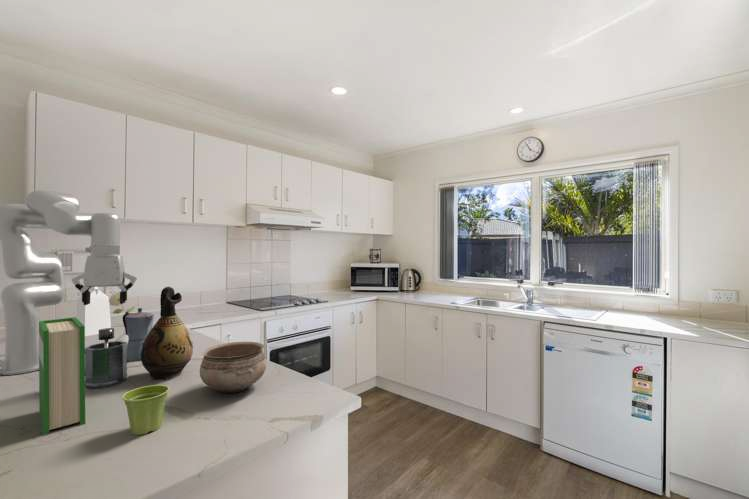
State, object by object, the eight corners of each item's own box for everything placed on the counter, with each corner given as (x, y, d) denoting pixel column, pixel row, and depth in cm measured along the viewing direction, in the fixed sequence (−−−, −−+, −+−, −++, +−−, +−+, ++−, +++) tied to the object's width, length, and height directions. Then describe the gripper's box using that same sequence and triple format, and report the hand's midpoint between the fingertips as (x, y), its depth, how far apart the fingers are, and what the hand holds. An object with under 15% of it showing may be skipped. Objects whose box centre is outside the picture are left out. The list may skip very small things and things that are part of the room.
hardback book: (85, 423, 86) (84, 325, 86) (43, 435, 81) (43, 331, 81) (75, 402, 98) (75, 317, 98) (39, 411, 93) (38, 321, 93)
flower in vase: (141, 340, 168) (140, 288, 168) (146, 344, 160) (146, 290, 160) (107, 345, 159) (106, 290, 159) (111, 350, 151) (111, 292, 151)
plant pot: (137, 420, 87) (137, 385, 88) (176, 418, 88) (176, 383, 88) (112, 440, 78) (112, 401, 78) (156, 437, 79) (156, 399, 79)
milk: (111, 331, 188) (110, 283, 188) (84, 336, 178) (84, 285, 178) (101, 329, 194) (101, 282, 194) (75, 333, 185) (75, 284, 185)
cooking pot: (281, 393, 103) (280, 351, 103) (213, 412, 91) (212, 365, 91) (250, 371, 122) (249, 336, 122) (190, 385, 110) (190, 346, 110)
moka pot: (143, 362, 133) (143, 310, 134) (110, 360, 136) (109, 309, 137) (163, 355, 143) (163, 306, 143) (131, 353, 146) (131, 305, 146)
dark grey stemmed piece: (88, 378, 109) (88, 332, 109) (97, 371, 116) (97, 328, 116) (116, 375, 112) (115, 330, 112) (123, 368, 118) (123, 326, 118)
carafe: (68, 392, 106) (67, 352, 106) (83, 379, 116) (83, 343, 116) (121, 385, 110) (121, 347, 110) (131, 374, 121) (131, 339, 121)
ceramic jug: (200, 374, 120) (199, 286, 121) (148, 387, 109) (147, 291, 109) (182, 363, 132) (182, 284, 132) (134, 374, 121) (133, 287, 121)
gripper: (67, 251, 107) (66, 306, 107) (133, 251, 113) (132, 304, 113) (77, 250, 114) (77, 303, 114) (139, 251, 120) (139, 301, 121)
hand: (104, 303), depth 114 cm, fingers open, 9 cm apart
